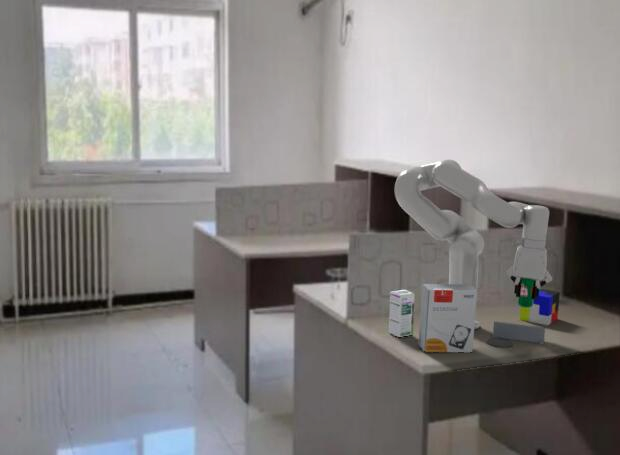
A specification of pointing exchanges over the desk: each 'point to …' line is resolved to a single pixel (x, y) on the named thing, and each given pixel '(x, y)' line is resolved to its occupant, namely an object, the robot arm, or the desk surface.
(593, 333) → the desk surface
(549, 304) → the puzzle toy
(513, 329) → the divider
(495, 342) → the coaster
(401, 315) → the syrup box
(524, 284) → the soda can
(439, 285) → the hard drive box
